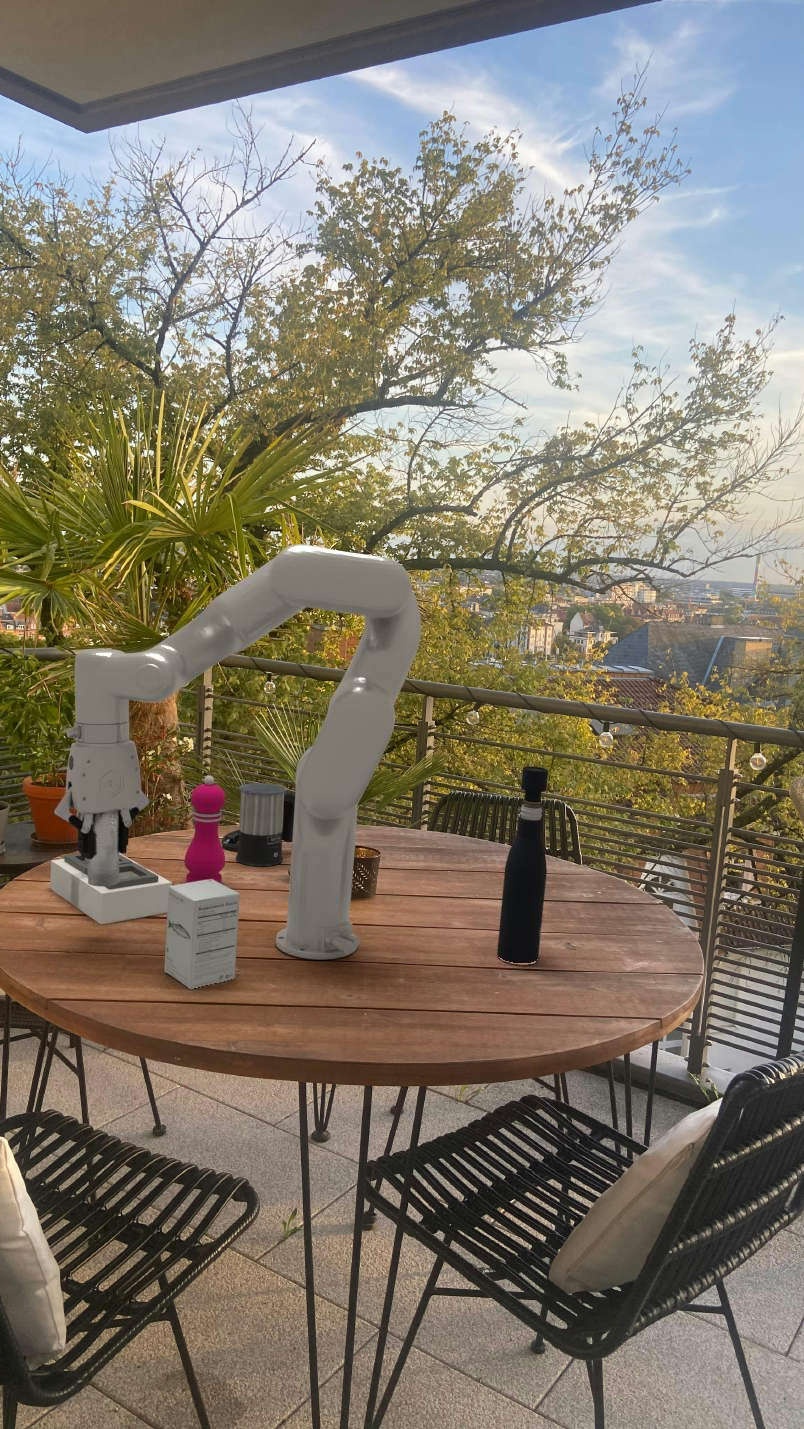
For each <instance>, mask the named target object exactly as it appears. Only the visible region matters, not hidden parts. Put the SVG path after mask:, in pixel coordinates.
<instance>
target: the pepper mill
mask: <svg viewBox="0 0 804 1429" xmlns="http://www.w3.org/2000/svg"><path fill="white" fill-rule="evenodd" d="M214 783H215V779H214V777H213V776H212V775H207V776H205V777H204V779H203V784H200V785H198V786H196V787H195V788H194V789H193V790H192V793H191V796H190V803H191V805H192V807H194V810H193V812H192V813H193V816H192V819H193V820H194V821H195V822H194V824H195V828H194V835H193V838H192V840H191V842H190V844H189V846H188V848H187V850H186V852H185V856H184V860H183V862H184V863H183V864H184V866H185V868H186V869H187V870H188V873H187V874H186V880H185V883H190V882H196V881H202V880H209V879H213V880H215V881H217V882H219V883H220V884H222V882H223V881H222V879H223V875H222V874H221V873H220V872H221V871H222V870H223V869H224V867H225V865H226V855H225V854H226V853H225V851H224V848H223V845H222V842H221V840H220V837H219V836H220V835H219V822H220V821H221V820H222V814H223V812H222V811H220V810H221V809H222V808H223V807H224V805H225V803H226V793H225V791H224V790H223V789H222V787H220V786H219V785H217V784H214Z"/></svg>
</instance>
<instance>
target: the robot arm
mask: <svg viewBox="0 0 804 1429" xmlns="http://www.w3.org/2000/svg"><path fill="white" fill-rule="evenodd" d="M412 587H413V586H412V580H411V578H410V575H409V573H408V572H407V569H406V568H405V567H404V566H403V565H402V564H401V563H399V562H398V561H396V560H394V559H392V558H390V557H389V558H388V557H383V556H379V555H378V556H377V555H372V554H371V555H370V554H365V553H356V552H351V551H344V550H336V549H332V548H331V549H330V548H325V547H320V546H315V545H309V544H305V543H298V544H291V545H289V546H287V547H285V548H283V549H282V550H281V551H279V552H278V554H277V555H276V556H275V557H273V558H272V559H271V560H269V561H268V562H266V563H265V564H264V565H262V566H261V567H259V568H258V569H256V570H255V571H253V572H252V573H250V574H249V575H248V576H246V577H245V578H243V579H242V580H240V581H238V582H237V583H236V584H234V585H232V587H230V588H227V589H226V590H225V591H223V592H222V593H221V594H219V595H217V597H215V598H214V599H213V600H211V602H209V604H207V606H206V608H205V609H204V610H203V611H202V612H201V613H200V614H198V615H197V616H196V617H194V618H193V619H192V620H191V621H190V622H189V623H186V624H185V625H184V626H183V627H182V628H180V629H178V630H177V631H175V632H174V633H172V634H171V635H169V636H168V637H167V638H165V639H163V640H162V641H161V642H159V643H158V644H156V645H155V646H153V647H151V648H149V649H146V650H144V651H138V652H131V653H130V652H127V653H126V652H124V651H123V650H120V649H119V650H118V649H111V648H110V649H109V648H89V649H83V650H81V651H79V652H78V653H77V654H76V655H75V657H74V658H75V659H74V696H75V697H74V698H75V699H74V700H75V701H74V702H75V704H74V705H75V707H74V708H75V713H74V714H75V722H73V725H74V726H72V727H68V728H66V731H65V732H66V737H67V738H73V739H74V741H75V742H72V743H71V745H70V746H71V747H70V750H69V755H68V761H67V767H66V768H67V769H66V780H65V793H64V795H63V796H62V799H61V800H60V802H59V803H58V805H57V806H56V807H55V809H54V811H53V812H54V814H55V815H56V816H58V817H59V818H61V819H63V820H65V821H66V822H67V823H69V824H70V825H71V826H72V827H74V829H75V830H77V850H78V852H79V854H81V856H83V857H85V858H87V859H92V858H94V834H93V833H92V832H90V827H91V822H92V817H93V814H95V813H103V812H110V811H117V810H119V853H120V854H122V855H124V854H127V847H128V846H129V827H131V826H132V823H133V821H134V819H135V818H136V817H137V816H138V814H139V813H140V812H141V811H142V810H143V809H145V807H147V806H148V804H149V803H150V799H149V798H148V797H147V795H146V794H145V793H144V791H143V790H142V781H141V780H142V778H141V768H140V762H139V757H138V756H139V755H138V751H137V746H136V743H135V741H133V740H131V739H130V701H135V702H141V703H148V704H149V703H150V704H151V703H152V704H156V703H161V702H163V701H166V700H167V699H169V698H170V697H171V696H173V695H174V694H175V693H176V692H179V690H180V689H182V688H183V687H185V686H186V685H187V684H189V683H190V682H192V681H193V680H195V679H197V677H199V676H200V675H202V674H203V673H204V672H206V671H208V670H209V669H211V668H212V667H214V666H215V665H217V664H219V663H220V662H221V661H223V660H224V659H226V658H227V657H229V656H231V655H234V654H236V653H238V652H239V653H240V652H242V651H243V650H245V649H246V648H248V647H250V646H252V645H253V644H254V643H256V642H258V641H259V640H261V639H262V638H263V637H265V636H266V635H268V634H269V633H270V632H272V631H274V630H275V629H276V628H278V627H279V626H280V625H282V624H284V623H286V622H287V621H288V620H290V619H291V618H292V617H294V616H296V615H297V614H298V613H300V612H301V611H303V610H305V609H306V608H312V609H317V610H323V611H327V612H335V613H342V614H350V615H356V616H362V617H364V628H363V632H362V635H361V638H360V640H359V643H358V645H357V646H356V649H355V652H354V655H353V657H352V659H351V661H350V663H349V665H348V668H347V670H346V671H345V673H344V675H343V677H342V679H341V681H340V683H339V685H338V686H337V688H336V689H335V691H334V692H333V694H332V696H331V697H330V700H329V704H328V708H327V713H326V716H325V719H324V720H323V722H322V724H321V727H320V729H319V731H318V733H317V736H316V737H315V740H314V742H313V744H312V745H311V746H310V747H309V748H308V749H306V751H305V752H303V754H302V755H301V757H300V759H299V761H298V762H297V765H296V766H297V767H296V772H295V790H294V791H295V794H294V795H295V810H294V825H293V841H292V842H291V843H292V844H291V853H290V854H291V857H290V871H289V872H290V874H289V885H288V888H289V889H288V899H287V900H288V901H287V917H286V918H287V919H286V927H285V928H282V929H281V930H279V931H278V932H277V934H276V935H275V945H276V947H277V948H278V949H279V950H280V951H282V952H283V953H285V954H287V955H290V956H293V957H296V958H301V959H307V960H319V961H320V960H321V961H322V960H323V961H325V960H334V959H340V958H344V957H347V956H349V955H351V954H352V953H354V952H356V950H357V949H358V947H359V946H360V945H361V939H360V938H359V937H357V936H356V935H355V934H354V933H353V923H352V922H351V921H350V915H351V914H350V913H351V901H352V900H351V899H352V888H353V887H352V886H353V872H354V860H355V850H356V837H357V836H356V835H357V821H358V820H357V818H358V817H357V816H358V804H359V802H360V800H361V799H362V797H363V795H364V793H365V792H366V789H367V787H368V785H369V783H370V781H371V780H372V777H373V775H374V774H375V771H376V769H377V766H378V765H379V763H380V761H381V759H382V757H383V754H384V752H385V751H386V748H387V746H388V744H389V742H390V740H391V737H392V735H393V732H394V728H395V724H396V711H395V707H394V706H395V704H396V700H397V698H398V696H399V694H400V691H401V690H402V688H403V686H404V683H405V681H406V678H407V676H408V673H409V671H410V669H411V667H412V664H413V662H414V661H415V657H416V655H417V652H418V650H419V647H420V646H419V645H420V641H421V636H422V619H421V612H420V607H419V604H418V599H417V598H416V595H415V593H414V591H413V590H412ZM70 809H73V810H75V811H77V812H76V815H75V814H74V813H72V812H70Z"/></svg>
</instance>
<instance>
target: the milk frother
mask: <svg viewBox="0 0 804 1429" xmlns="http://www.w3.org/2000/svg"><path fill="white" fill-rule="evenodd" d="M239 790H240V808H239V809H240V810H239V824H238V825H239V829H236V830H234V831H231V832H228V833H227V834H225V835H224V836H223V837H222V839H221V840H220V843H221V845H222V847H224V848H225V849H227V850H230V851H237V854H236V856H235V859H236V862H238V863H239V864H240V863H241V864H242V865H246V866H251V867H252V866H253V867H270V866H276V865H279V864H280V863H282V862H283V860H284V858H283V845H282V844H283V842H286V843H292V841H293V825H294V810H295V794H294V793H293V792H291V791H290V790H289V791H288V790H287V787H285V786H284V785H279V784H275V783H267V782H252V783H245V784H242V785H240V786H239Z"/></svg>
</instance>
